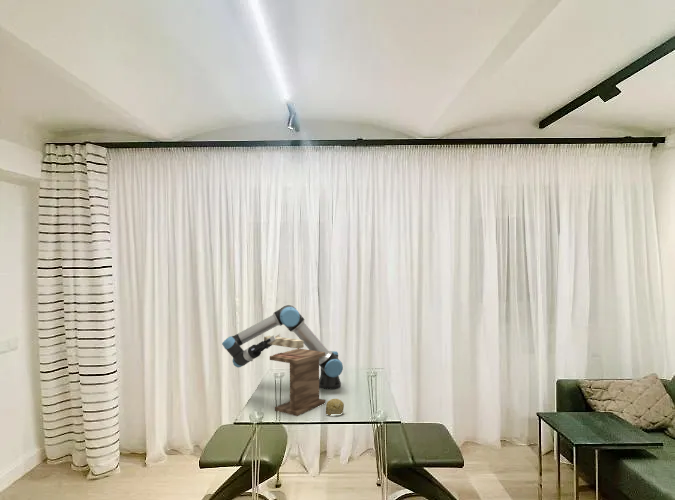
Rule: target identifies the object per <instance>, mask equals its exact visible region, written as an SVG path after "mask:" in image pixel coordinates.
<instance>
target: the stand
mask: <svg viewBox="0 0 675 500" xmlns="http://www.w3.org/2000/svg"><path fill="white" fill-rule="evenodd" d="M322 356H325V352H320V351H313V350H309V349H304V348H299V349H297V348H294V349H292V350H289V351H283V352H278V353H274V354H273V355H270V356H269V361H274V362H275V361H276V362H280V363H286V364H287V363H288V364H289V401H287V402H285V403H283V404H280V405H277V406H275V407H274V411H275V412H278V411H279V412H278V413H283V414H287V415H290V416H296V417H298V416H300V415H303V414H305V413H307V412H310V411H311V410H314V409H317V408H318V406H319V407H321V406H323V405H325V404H326V399H323V398H320V388H319V379H320V365H319V357H322ZM324 403H325V404H324ZM322 404H323V405H322ZM320 405H321V406H320Z"/></svg>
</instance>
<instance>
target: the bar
mask: <svg viewBox="0 0 675 500" xmlns="http://www.w3.org/2000/svg"><path fill="white" fill-rule="evenodd" d="M271 336H272V335H266V336H263V341H265V340H267V339H268V338H270V337H271ZM275 338H276V340H274V341H273V342H271V343H269V344H270V345H272V346H278V347H284V348H292V349H304V348H305V347H304V346H305V344H304V340H300V339H299V338H298V339H296V338H289V337H282V336H281V337H275ZM267 344H268V343H267Z"/></svg>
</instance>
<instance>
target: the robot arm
mask: <svg viewBox="0 0 675 500" xmlns="http://www.w3.org/2000/svg"><path fill="white" fill-rule="evenodd" d="M282 325H284V326H285V327H286V328H287V331H289V332H290V333H294V334H295V335H296V336H297V338H298V340H304V346H305V347H306V348H307V350H313V351H320V352H325V356H322V357H319V368H320V374H319V389H320V390H321V389H323V390H336V389H337V390H338V389H339V388H341V387H342V382H341V380H340V375H341V374H342V373H343V370H344V369H343V368H344V366H343V362H342V361H341V360H340V359H339V352H338V351H336V350H334V351H333V350H328V349H327V347H326V346H325V345H324V344H323V343H322V342H321V340H319V338H318V337H317V336H316V335H315V334H314V332H313V331H312V330H311V329H310V327H308V326H307V324H306V323H305V317H303V316H302V315H301V313H300V312H299V311H298V310H297V308H296V307H295V306H293V305H290V304H288V305H284V306H283V307H281V308H279V309H277V310H276V311H274V312H273V314H272V315H270V316H268V317H266V318H264V319H262V320H261V321H259V322H257V323H255V324H252V325H251V326H249V327H247V328H246V329H244V330H242V331H241V332H238V333H236V334H235V335H231V336H228V337H227V338H226V339H224V340H223V342H221V345H222V347H223V348H224V349H225V350H226V351H227V353H229V355H230V356H231V357H232V363H233V366H235V368H241V367H243V366H244V367H245V365H247V364H248V363H250V362H254V361H253V360H255V359H257V358H258V357H260V356H261V354H262V352H263V351H264V350H266V349H270V348H271V347H272V346H273V345H270V344H269V343H271V342H273V341H274V340H276V338H275V337H282V334H281V333H279V334H277V335H275V334H273V335H270V336H271V337H270V338H268V339H267V340H265V341H264V340H262V341H260V342H259V343H257V344H252V345H251V346H249V347H248V348H246V349H245V350H244V349H243V348H242V345H244V344H246V343H248V342H250V341H251V340H253V339H256V338H257V337H259V336H261V335H263V334H264V333H266V332H269V331H270V330H272V329H274V328H276V327H277V326H281V327H282ZM267 343H268V344H267Z"/></svg>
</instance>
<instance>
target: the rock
mask: <svg viewBox="0 0 675 500" xmlns="http://www.w3.org/2000/svg"><path fill="white" fill-rule="evenodd" d="M344 408H345V403H344V401H342V399H339V398H331V399H329V400H328V401H327V402H326V403H325V415H326V414H328V415H331V414H341V413H342V412H343V413H344ZM328 415H327V416H328Z"/></svg>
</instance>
